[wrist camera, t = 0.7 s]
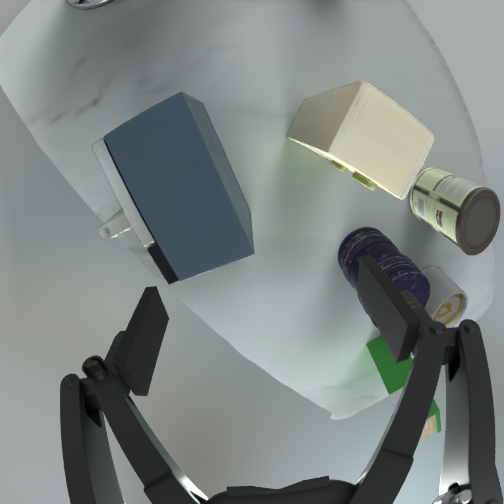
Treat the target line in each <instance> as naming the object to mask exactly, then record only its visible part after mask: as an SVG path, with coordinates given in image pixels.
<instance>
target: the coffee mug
mask: <svg viewBox="0 0 504 504" xmlns="http://www.w3.org/2000/svg"><path fill="white" fill-rule="evenodd" d="M421 272H422V273H423V274H424V275H425V276H426V277H427V279H428V280H429V283H430V287H431V292H430V297H429V300H428V302H427V305H426V306H425V308H424V309H425V310H426V311H427V313H428V314H429V315H430V317H431V318H432V319H433V321H439V322H441V323H443V324H444V325H445V326H446V328H452V327H453V326H454V325H455V324H456V323H457V322H458V321H459V320H460V319H461V317H462V316H463V314H464V313H465V310H466V308H467V304H468V297H467V295H466V294H465V293H464V292H463V291H462V290H461V289H460V288H459V287H458V286H457V285H456V284H455V283H454V282H453V281H452V280H451V279H450V278H449V277H448V276H447V275H446V274H445V273H444V272H443V271H442V270H441V269H440V268H439V267H437V266H430V267H427V268H425V269H423V270H422V271H421Z"/></svg>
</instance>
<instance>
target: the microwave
mask: <svg viewBox="0 0 504 504" xmlns="http://www.w3.org/2000/svg"><path fill="white" fill-rule="evenodd" d="M104 138H105V141H106V143H107V145H108V147H109V150H110V152H111V154H112V156H113V158H114V160H115V162H116V164H117V167H118V169H119V171H120V173H121V175H122V177H123V179H124V181H125V183H126V185H127V187H128V189H129V191H130V193H131V195H132V197H133V199H134V201H135V203H136V204H137V206H138V208H139V210H140V212H141V214H142V216H143V218H144V219H145V221H146V223H147V225H148V227H149V229H150V230H151V232H152V234H153V236H154V238H155V239H156V241H155V242H153V243H151V245H150V246H149V248H148V251H149V253H150V255H151V256H152V258H153V260H154V263H155V264H156V266H157V267H158V268H159V270H160V271H161V273H162V274H163V276H164V278H165V279H166V281H167V282H168V284H169V285H170V284H173V283H175V282H178V281H183V280H186V279H189V278H191V277H194V276H197V275H200V274H202V273H205V272H208V271H210V270H213V269H216V268H218V267H221V266H224V265H227V264H229V263H232V262H235V261H237V260H240V259H243V258H245V257H248V256H251V255H253V254H254V244H253V233H252V222H251V212H250V209H249V207H248V205H247V202H246V200H245V198H244V195H243V193H242V191H241V188H240V186H239V184H238V181H237V179H236V177H235V175H234V172H233V170H232V168H231V165H230V163H229V161H228V159H227V156H226V154H225V152H224V149H223V147H222V145H221V143H220V140H219V138H218V136H217V134H216V131H215V129H214V127H213V125H212V122H211V120H210V118H209V116H208V113H207V111H206V109H205V107H204V104H203V103H202V102H200V101H198V100H196V99H194V98H192V97H190V96H188V95H186V94H184V93H183V92H180V93H178V94H176V95H174V96H172V97H170V98H168V99H166V100H164V101H162V102H160V103H158V104H156V105H155V106H153V107H151V108H149V109H147V110H146V111H144V112H142V113H140V114H139V115H137V116H135V117H134V118H132V119H130V120H129V121H127V122H125V123H124V124H122V125H121V126H119V127H117V128H116V129H114V130H113V131H111V132H110V133H108V134H107V135H105V136H104Z"/></svg>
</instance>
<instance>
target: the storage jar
mask: <svg viewBox="0 0 504 504" xmlns="http://www.w3.org/2000/svg"><path fill="white" fill-rule="evenodd" d="M366 255H371V257H372V258H373V259H374V260H375V261H376V263H377V264H378V265H379V266H380V268H381V269H382V270H383V271H384V273H385V274H386V275H387V276H388V278H389V279H390V280H391V281H392V283H393V284H394V285H395V286H396V288H397V289H398V290H399V292H401V291H405V290H407V291H408V292H410V293H412V294H413V295H414V296H415V297H416V299H417V300H418V301H419V302H420V304H421V306H423V308H425V306H426V305H427V302H428V300H429V297H430V292H431V287H430V283H429V280H428V279H427V277H426V276H425V275H424V274H423V273H422V272H421V271H420V270H419V268H418V267H417V266H416V265H415V264H414V263H413V262H412V261H411V260H410V259H409V258H408V257H406V256H404V255H402V254H401V253H400V252H399V251H398V249H397V247H396V246H395V245H394V244H393V243H392V242H391V240H390V239H388V238H387V237H386V236H385V235H383V234H382V233H381V232H380V231H379V230H377V229H375V228H371V227H363V228H359V229H357V230H355V231H353V232H351V233H350V234H349V235H348V236H347V237H346V238H345V239H344V240H343V242H342V244H341V245H340V248H339V252H338V262H339V265H340V267H341V269H342V270H343V273H344V275H345V277H346V278H347V280H348V281H349V282H350V284H351V285H352V287H353V288H355V289H356V291H357V287H358V273H359V257H360V256H366ZM357 293H358V292H357ZM358 297H359V300H360V303H361V304H362V306H363V308H364V309H365V311H366V313H367V314H368V315H369V317H370V319H371V321H372V322H373V324H374V325H375V326H376V324H375V322H374V320H373V318H372V317H371V315H370V313H369V311H368V310H367V308H366V306H365V304H364V303H363V301H362V299H361V297H360V296H359V294H358ZM376 327H377V326H376ZM377 328H378V327H377Z"/></svg>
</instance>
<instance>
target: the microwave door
mask: <svg viewBox="0 0 504 504" xmlns="http://www.w3.org/2000/svg"><path fill="white" fill-rule="evenodd" d="M91 146H92V148H93V151H94V153H95V155H96V157H97V159H98V161H99V164H100V166H101V168H102V170H103V172H104V174H105V176H106V178H107V180H108V182H109V184H110V186H111V188H112V190H113V192H114V194H115V196H116V198H117V200H118V202H119V204H120V206H121V208H122V209H120V210H119V211H118V212H117V213H116V214H114V215H113V216H112V217H111V218H110V219H108V220H107V221H106V222H105V223H104V224H103V225H102V226H100V228H99V231H98V232H99V235H100V237H101V238H102V239H104V240H109V239H111V238H113V237H115V236H116V235H118V234H120V233H122V232H124V231H126V230H128V229H130V228H133V230H134V231H135V233H136V235H137V237H138V238H139V240H140V242H141V244H142V245H143V247H144V246H147V245H149V244H151V243H153V242H155V241H156V239H155V238H154V236H153V234H152V232H151V230H150V229H149V227H148V225H147V223H146V221H145V219H144V218H143V216H142V214H141V212H140V210H139V208H138V206H137V204H136V203H135V201H134V199H133V197H132V195H131V193H130V191H129V189H128V187H127V185H126V183H125V181H124V179H123V177H122V175H121V173H120V171H119V169H118V167H117V164H116V162H115V160H114V158H113V156H112V154H111V152H110V150H109V147H108V145H107V143H106V141H105V138H101V139H100V140H98V141H97V142H95V143H94V144H93V145H91Z"/></svg>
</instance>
